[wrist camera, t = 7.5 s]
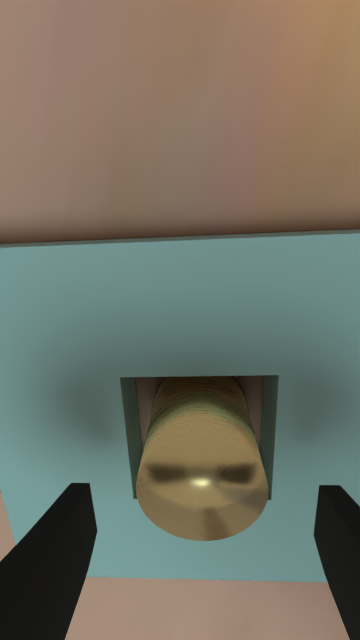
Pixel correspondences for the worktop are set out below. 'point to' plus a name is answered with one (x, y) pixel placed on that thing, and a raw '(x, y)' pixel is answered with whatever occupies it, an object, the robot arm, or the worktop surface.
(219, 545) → the jig
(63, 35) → the worktop surface
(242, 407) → the peg
